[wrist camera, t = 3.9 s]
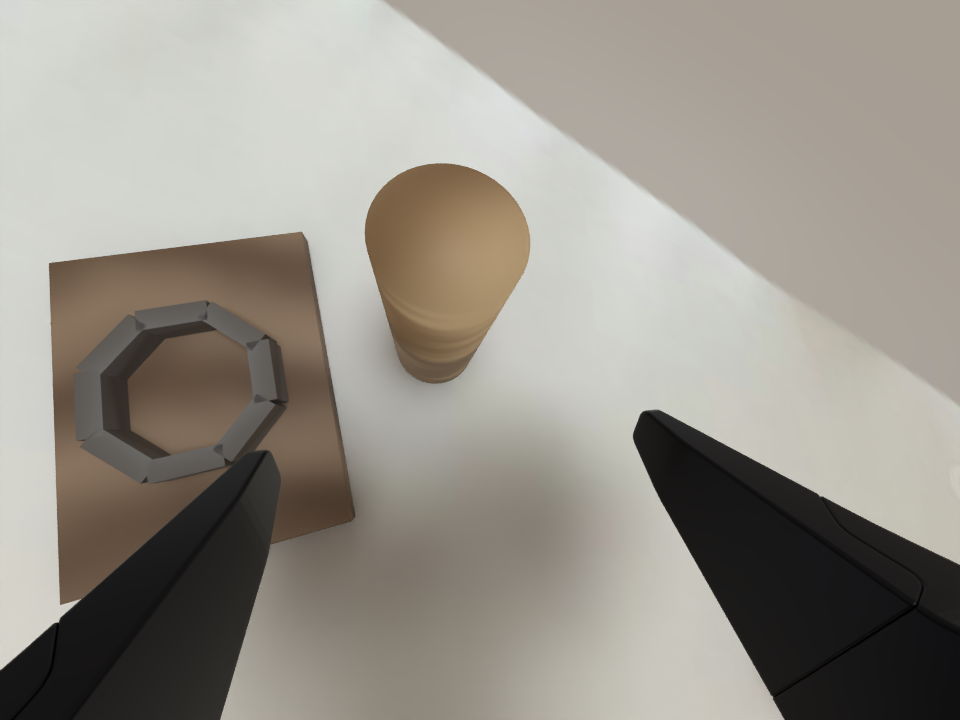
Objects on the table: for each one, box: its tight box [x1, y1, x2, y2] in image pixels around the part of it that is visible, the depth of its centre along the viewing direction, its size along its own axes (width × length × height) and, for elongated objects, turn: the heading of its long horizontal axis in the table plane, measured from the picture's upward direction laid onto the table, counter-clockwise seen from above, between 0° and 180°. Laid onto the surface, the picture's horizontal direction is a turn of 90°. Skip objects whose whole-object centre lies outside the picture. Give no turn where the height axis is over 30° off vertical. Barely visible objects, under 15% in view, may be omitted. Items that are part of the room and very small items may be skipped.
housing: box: [49, 232, 355, 605], centre depth 17 cm, size 16×12×2 cm
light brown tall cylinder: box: [365, 163, 530, 383], centre depth 15 cm, size 4×4×12 cm
